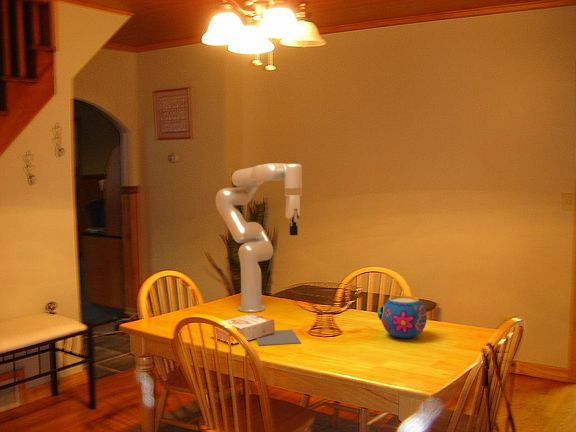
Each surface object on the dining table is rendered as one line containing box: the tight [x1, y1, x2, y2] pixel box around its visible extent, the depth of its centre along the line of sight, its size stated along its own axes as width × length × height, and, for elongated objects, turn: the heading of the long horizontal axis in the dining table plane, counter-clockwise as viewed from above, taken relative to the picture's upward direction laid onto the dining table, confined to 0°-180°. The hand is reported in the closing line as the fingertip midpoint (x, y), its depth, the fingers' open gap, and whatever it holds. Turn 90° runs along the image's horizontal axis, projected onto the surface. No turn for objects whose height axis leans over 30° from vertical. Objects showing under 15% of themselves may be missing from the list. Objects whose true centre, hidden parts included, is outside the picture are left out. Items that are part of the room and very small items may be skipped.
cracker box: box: [215, 313, 276, 341], centre depth 229 cm, size 14×6×21 cm
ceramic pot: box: [377, 295, 428, 339], centre depth 228 cm, size 18×18×15 cm
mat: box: [255, 329, 302, 347], centre depth 227 cm, size 18×16×1 cm
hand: (293, 235), depth 252 cm, fingers closed
